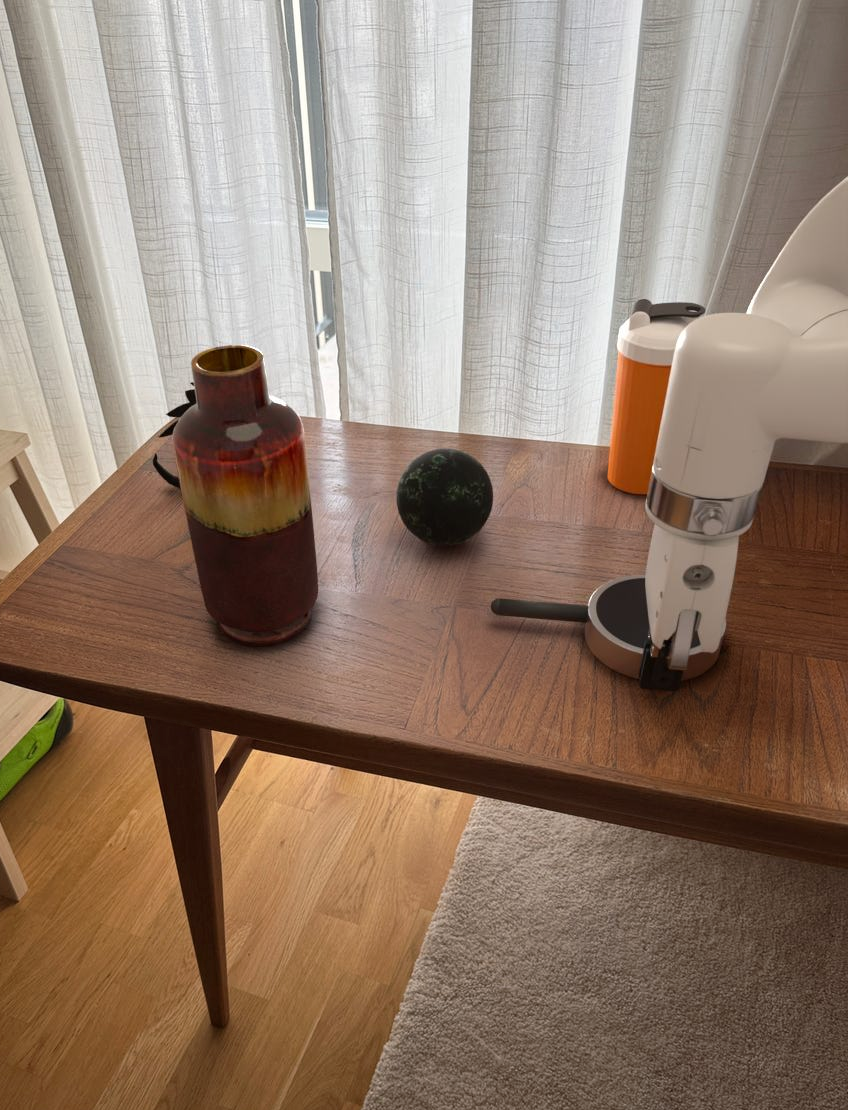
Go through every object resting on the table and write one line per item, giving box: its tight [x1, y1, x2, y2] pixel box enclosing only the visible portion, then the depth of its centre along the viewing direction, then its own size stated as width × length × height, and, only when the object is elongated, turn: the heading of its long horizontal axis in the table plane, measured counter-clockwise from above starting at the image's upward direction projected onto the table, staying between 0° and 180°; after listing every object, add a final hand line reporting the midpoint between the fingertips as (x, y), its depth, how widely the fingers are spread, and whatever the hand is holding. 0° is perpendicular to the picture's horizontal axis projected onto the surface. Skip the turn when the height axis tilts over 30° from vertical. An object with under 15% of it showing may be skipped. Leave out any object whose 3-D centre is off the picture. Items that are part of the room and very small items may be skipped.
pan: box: [490, 573, 727, 682], centre depth 84 cm, size 21×12×3 cm, turn 79°
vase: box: [171, 344, 319, 647], centre depth 81 cm, size 11×11×26 cm
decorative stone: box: [395, 447, 494, 547], centre depth 95 cm, size 10×10×10 cm
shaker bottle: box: [607, 298, 706, 495], centre depth 100 cm, size 9×9×20 cm
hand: (657, 683), depth 77 cm, fingers closed
